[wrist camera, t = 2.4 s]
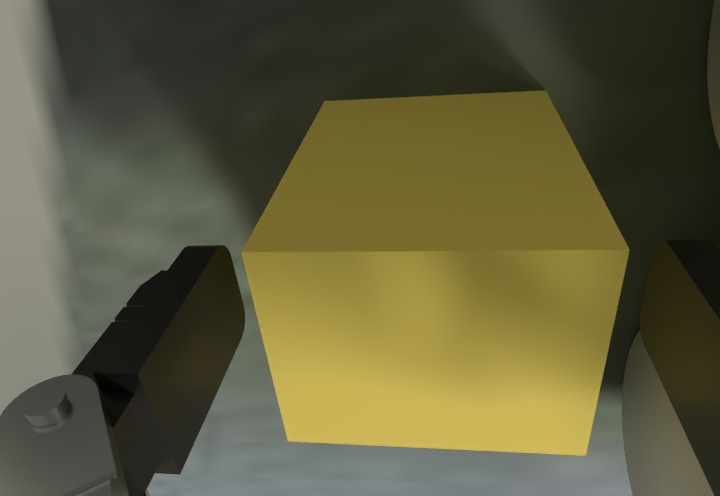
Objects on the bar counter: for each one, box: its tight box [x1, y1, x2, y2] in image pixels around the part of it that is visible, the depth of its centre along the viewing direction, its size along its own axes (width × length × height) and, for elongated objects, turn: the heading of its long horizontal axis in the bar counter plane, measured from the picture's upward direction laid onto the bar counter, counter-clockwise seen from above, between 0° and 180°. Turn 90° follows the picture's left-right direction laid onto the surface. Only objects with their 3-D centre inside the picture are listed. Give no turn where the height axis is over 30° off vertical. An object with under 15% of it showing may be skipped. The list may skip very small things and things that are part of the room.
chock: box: [241, 90, 630, 456], centre depth 11 cm, size 6×5×6 cm
